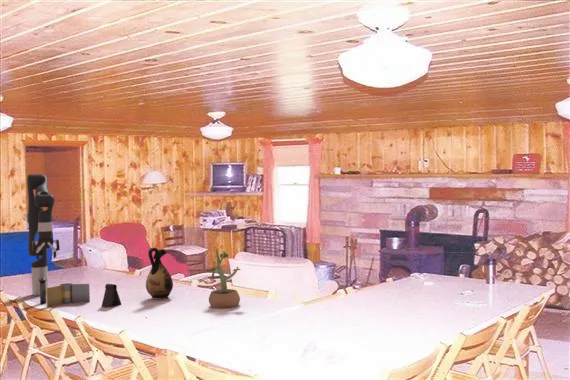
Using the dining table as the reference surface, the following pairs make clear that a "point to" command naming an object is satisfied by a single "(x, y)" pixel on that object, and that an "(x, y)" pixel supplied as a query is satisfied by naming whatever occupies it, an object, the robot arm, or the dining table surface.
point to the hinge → (67, 294)
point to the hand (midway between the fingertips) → (46, 258)
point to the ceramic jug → (158, 277)
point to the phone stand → (111, 296)
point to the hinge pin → (42, 290)
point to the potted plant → (223, 287)
